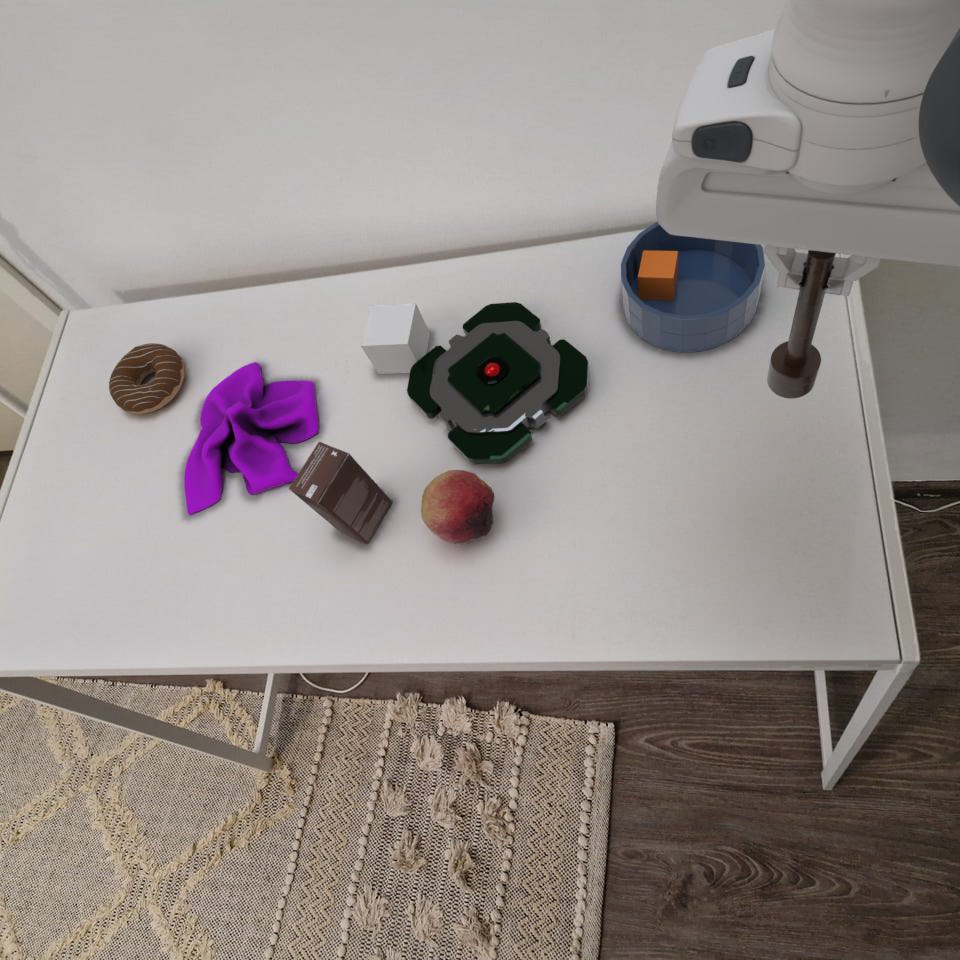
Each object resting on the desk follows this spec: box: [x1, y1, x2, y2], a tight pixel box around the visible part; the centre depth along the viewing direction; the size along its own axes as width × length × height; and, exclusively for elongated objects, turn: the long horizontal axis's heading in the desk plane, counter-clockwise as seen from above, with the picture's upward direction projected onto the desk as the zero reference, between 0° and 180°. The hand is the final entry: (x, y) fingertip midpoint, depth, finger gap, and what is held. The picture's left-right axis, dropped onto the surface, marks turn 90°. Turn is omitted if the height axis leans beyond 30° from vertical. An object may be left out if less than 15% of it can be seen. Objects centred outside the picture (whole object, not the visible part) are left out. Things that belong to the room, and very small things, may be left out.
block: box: [638, 250, 678, 301], centre depth 82 cm, size 4×4×4 cm
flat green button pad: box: [406, 301, 590, 466], centre depth 82 cm, size 18×18×5 cm
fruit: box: [420, 469, 495, 546], centre depth 74 cm, size 8×8×8 cm
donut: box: [108, 342, 185, 414], centre depth 96 cm, size 11×11×4 cm
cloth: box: [183, 361, 319, 516], centre depth 87 cm, size 22×19×6 cm
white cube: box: [360, 302, 431, 375], centre depth 87 cm, size 6×6×6 cm
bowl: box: [620, 221, 766, 353], centre depth 81 cm, size 15×15×6 cm
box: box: [288, 441, 393, 545], centre depth 75 cm, size 6×4×12 cm
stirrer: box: [766, 250, 837, 399], centre depth 51 cm, size 4×4×15 cm
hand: (813, 284), depth 47 cm, fingers closed on stirrer, 2 cm apart
